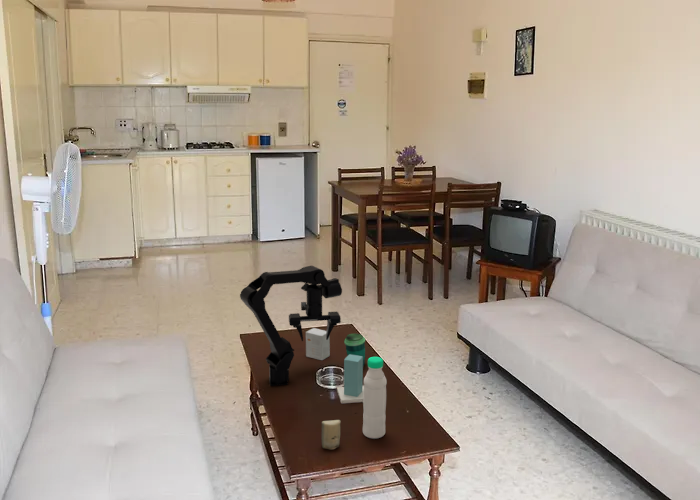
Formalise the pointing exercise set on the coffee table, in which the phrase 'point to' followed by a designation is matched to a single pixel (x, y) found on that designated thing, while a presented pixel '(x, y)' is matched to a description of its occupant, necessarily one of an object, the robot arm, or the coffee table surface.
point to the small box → (317, 344)
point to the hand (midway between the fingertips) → (314, 340)
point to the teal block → (353, 375)
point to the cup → (355, 345)
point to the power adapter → (330, 434)
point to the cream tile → (349, 398)
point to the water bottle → (374, 399)
